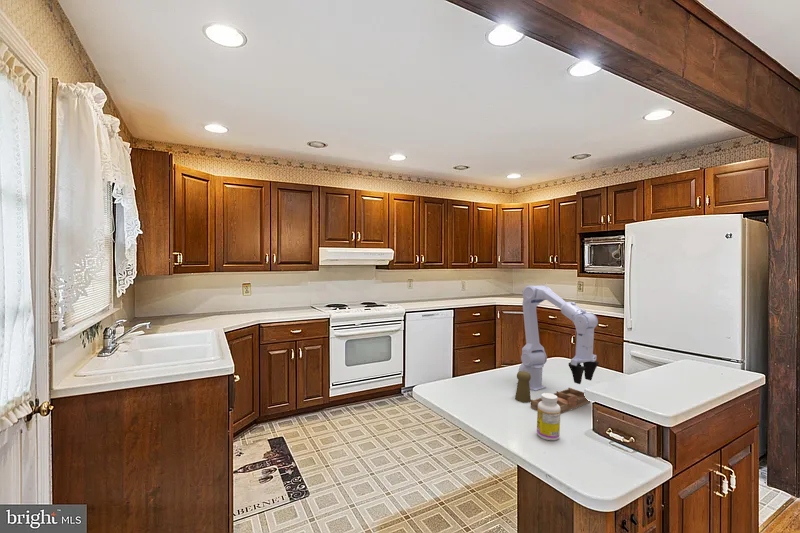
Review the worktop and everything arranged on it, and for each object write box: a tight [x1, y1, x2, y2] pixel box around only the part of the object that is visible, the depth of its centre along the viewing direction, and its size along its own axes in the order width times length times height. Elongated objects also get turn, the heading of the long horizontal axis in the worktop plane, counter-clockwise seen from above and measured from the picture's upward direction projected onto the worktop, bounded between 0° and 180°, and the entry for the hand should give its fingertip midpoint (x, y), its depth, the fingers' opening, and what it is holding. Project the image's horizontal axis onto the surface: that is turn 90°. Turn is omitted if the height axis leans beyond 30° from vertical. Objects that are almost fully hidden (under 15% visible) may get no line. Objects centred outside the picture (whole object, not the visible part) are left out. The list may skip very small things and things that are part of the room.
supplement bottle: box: [536, 392, 561, 441], centre depth 114 cm, size 7×7×13 cm
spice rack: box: [530, 387, 591, 415], centre depth 139 cm, size 9×25×4 cm, turn 124°
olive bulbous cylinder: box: [514, 370, 532, 404], centre depth 144 cm, size 6×6×11 cm
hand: (582, 381), depth 137 cm, fingers open, 7 cm apart
